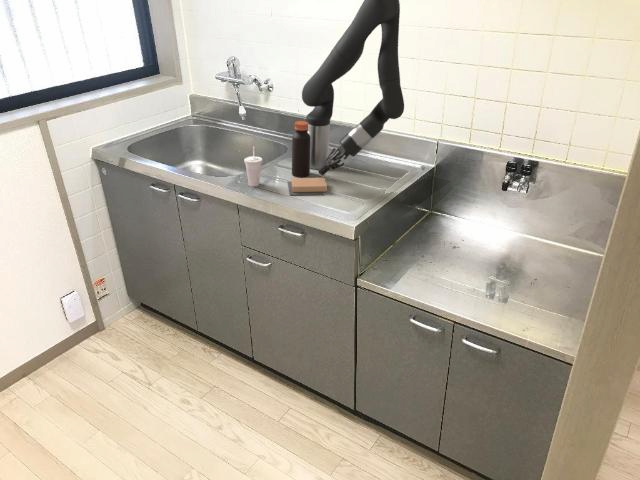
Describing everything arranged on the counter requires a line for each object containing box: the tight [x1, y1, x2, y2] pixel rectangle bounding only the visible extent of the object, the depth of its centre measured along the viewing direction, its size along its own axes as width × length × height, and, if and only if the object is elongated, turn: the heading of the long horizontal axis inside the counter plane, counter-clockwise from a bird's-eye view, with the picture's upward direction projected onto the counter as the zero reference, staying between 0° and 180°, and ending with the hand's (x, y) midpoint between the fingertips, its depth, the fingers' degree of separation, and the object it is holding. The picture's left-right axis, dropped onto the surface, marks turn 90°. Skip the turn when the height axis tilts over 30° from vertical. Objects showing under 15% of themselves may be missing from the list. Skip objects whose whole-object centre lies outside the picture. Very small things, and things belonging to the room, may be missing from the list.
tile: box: [290, 177, 328, 193], centre depth 191 cm, size 2×8×12 cm
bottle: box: [291, 120, 311, 178], centre depth 199 cm, size 7×7×20 cm
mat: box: [287, 181, 325, 197], centre depth 192 cm, size 12×12×1 cm
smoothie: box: [243, 146, 263, 187], centre depth 190 cm, size 6×6×14 cm
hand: (320, 173), depth 189 cm, fingers closed
